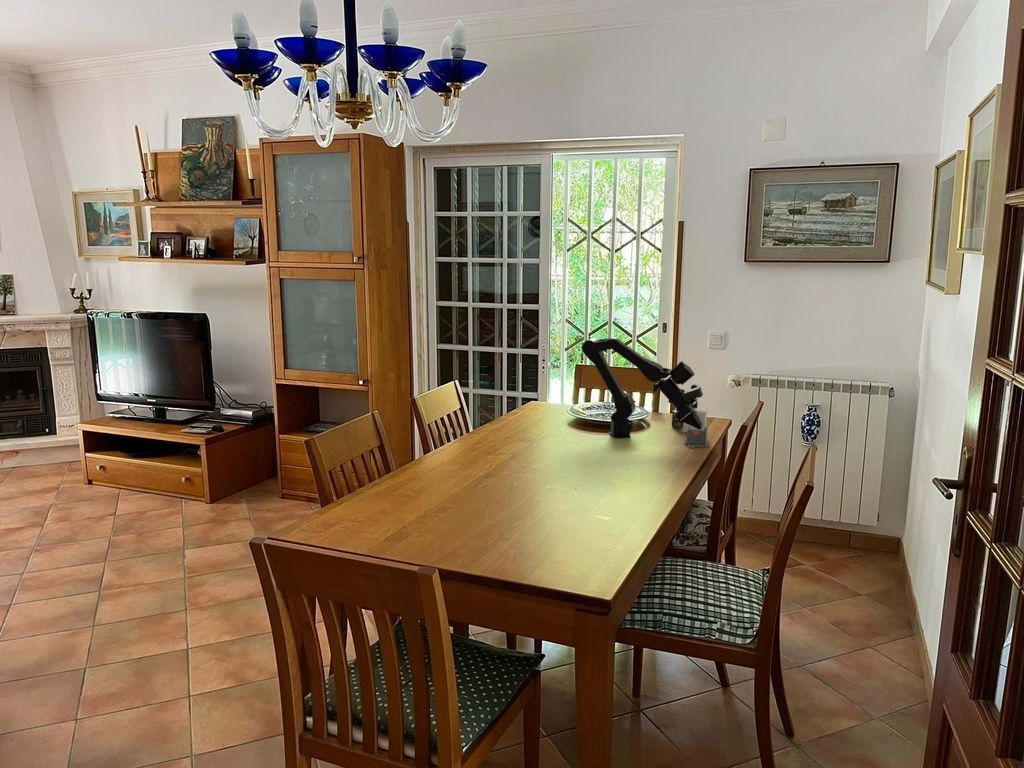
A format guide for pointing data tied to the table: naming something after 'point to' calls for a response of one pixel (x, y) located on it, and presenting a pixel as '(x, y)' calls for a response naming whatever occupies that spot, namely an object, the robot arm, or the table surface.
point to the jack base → (697, 438)
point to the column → (700, 418)
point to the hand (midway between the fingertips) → (702, 425)
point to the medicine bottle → (678, 424)
